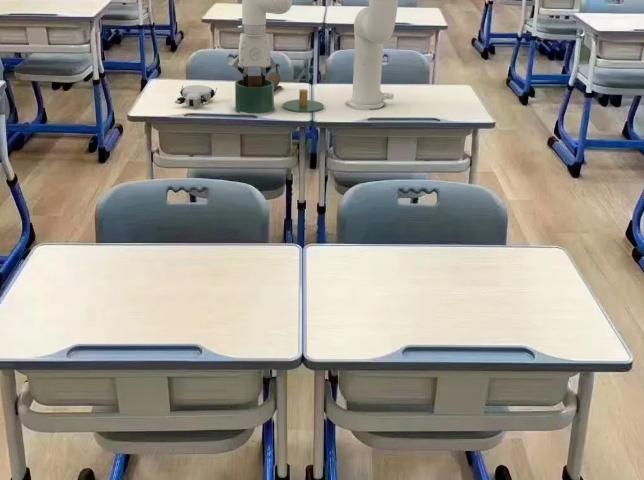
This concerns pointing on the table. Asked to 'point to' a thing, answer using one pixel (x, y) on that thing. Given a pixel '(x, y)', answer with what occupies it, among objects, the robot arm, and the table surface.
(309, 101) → the lid
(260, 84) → the block
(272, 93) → the tin
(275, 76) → the figurine
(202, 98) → the robot toy
